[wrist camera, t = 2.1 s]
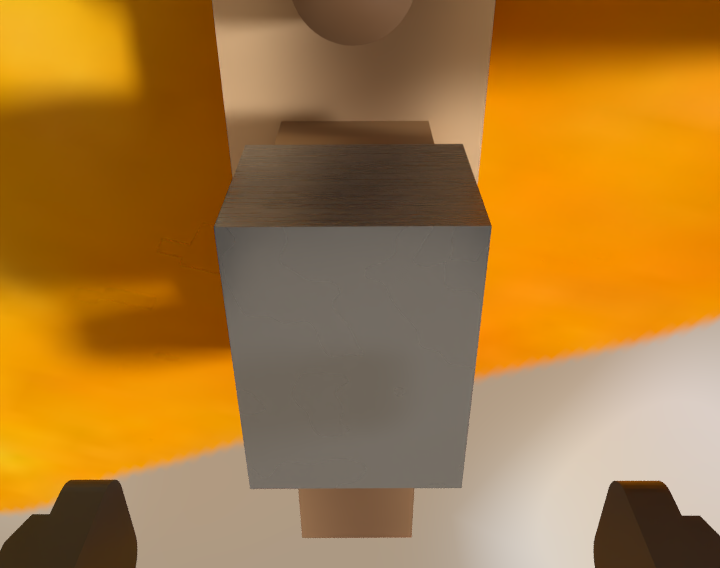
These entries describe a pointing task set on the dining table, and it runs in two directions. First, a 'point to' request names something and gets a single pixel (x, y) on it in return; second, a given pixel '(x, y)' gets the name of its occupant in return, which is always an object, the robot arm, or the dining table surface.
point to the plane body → (354, 126)
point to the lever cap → (354, 311)
